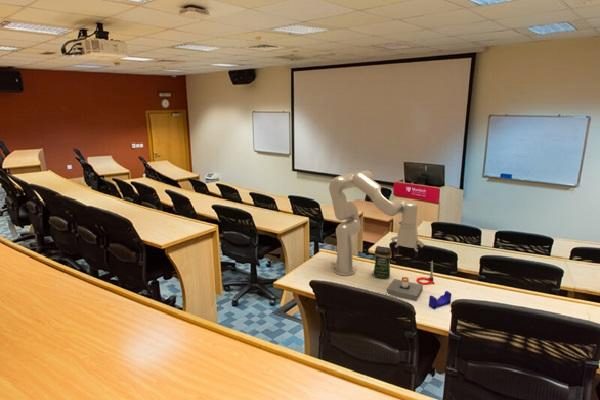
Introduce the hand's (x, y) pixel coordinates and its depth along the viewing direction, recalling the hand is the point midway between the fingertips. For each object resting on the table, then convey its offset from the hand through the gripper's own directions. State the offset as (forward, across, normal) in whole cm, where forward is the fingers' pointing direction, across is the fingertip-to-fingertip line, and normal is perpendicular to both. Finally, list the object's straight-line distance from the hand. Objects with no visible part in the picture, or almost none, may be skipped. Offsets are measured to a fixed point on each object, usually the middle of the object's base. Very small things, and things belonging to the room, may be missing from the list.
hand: (406, 255), depth 200 cm
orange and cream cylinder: (+21, +1, -1) cm, 21 cm away
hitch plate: (+21, +1, -1) cm, 21 cm away
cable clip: (+21, +20, -6) cm, 29 cm away
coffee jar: (+21, -16, +12) cm, 29 cm away
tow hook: (+21, +8, +17) cm, 28 cm away
